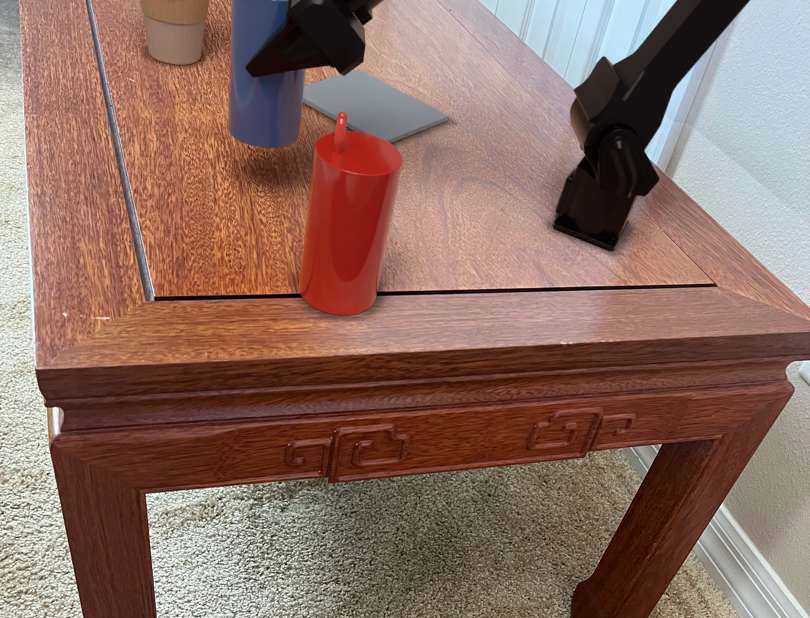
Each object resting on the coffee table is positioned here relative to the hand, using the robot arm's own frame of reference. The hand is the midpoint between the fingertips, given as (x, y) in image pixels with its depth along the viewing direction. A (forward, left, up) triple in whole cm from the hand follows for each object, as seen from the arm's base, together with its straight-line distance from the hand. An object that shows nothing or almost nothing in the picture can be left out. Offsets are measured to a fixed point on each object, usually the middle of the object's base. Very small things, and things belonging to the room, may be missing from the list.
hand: (252, 56), depth 69 cm
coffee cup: (+22, -19, -12) cm, 31 cm away
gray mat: (-1, -24, -12) cm, 27 cm away
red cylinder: (-15, +9, -12) cm, 21 cm away
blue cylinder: (-1, -1, -7) cm, 7 cm away
